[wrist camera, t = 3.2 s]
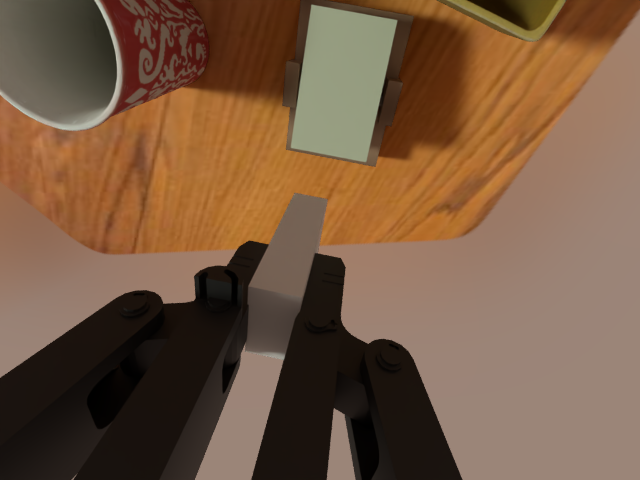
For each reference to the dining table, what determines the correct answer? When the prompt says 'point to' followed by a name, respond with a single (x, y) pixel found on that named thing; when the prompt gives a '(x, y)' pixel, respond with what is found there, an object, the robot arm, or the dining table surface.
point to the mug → (96, 56)
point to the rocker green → (341, 82)
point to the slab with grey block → (390, 82)
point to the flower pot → (511, 15)
